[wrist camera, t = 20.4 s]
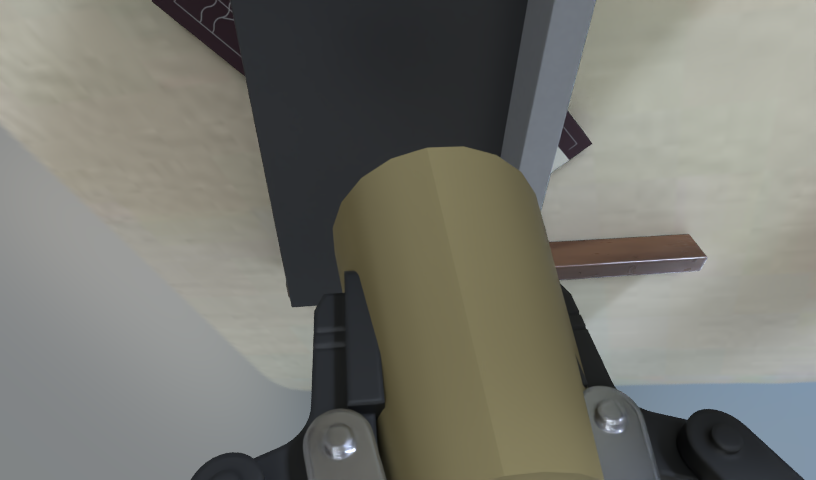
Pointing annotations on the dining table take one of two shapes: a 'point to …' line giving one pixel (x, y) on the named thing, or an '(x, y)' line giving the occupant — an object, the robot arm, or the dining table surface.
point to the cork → (466, 322)
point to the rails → (625, 256)
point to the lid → (396, 99)
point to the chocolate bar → (214, 25)
